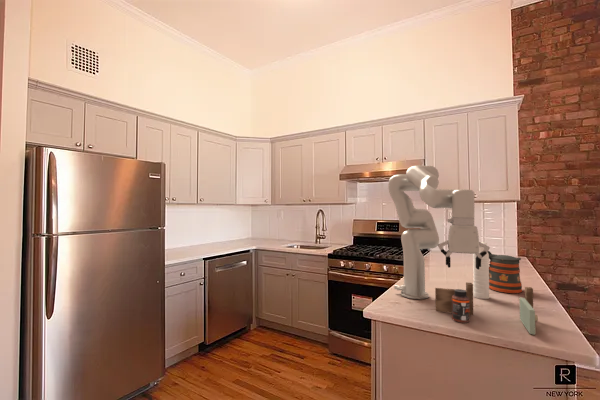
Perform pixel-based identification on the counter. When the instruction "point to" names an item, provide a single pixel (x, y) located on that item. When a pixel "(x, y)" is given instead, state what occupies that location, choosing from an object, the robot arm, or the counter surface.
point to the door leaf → (527, 315)
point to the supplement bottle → (460, 306)
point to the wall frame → (445, 296)
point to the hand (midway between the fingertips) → (463, 267)
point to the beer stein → (504, 274)
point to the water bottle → (481, 276)
